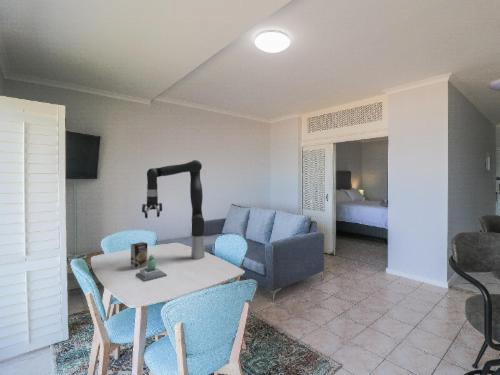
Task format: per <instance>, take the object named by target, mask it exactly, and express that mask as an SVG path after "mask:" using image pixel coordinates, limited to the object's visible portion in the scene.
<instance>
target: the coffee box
mask: <svg viewBox="0 0 500 375" xmlns="http://www.w3.org/2000/svg"><path fill="white" fill-rule="evenodd" d="M147 260H148V243H147V242H142V241H141V242H136V243H132V244H130V268H131V269H134V270H138V269H141V268H146V267H147Z"/></svg>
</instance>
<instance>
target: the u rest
mask: <svg viewBox="0 0 500 375" xmlns="http://www.w3.org/2000/svg"><path fill="white" fill-rule="evenodd" d="M167 275H168V274H167V273H166V272H164V271H162V270H161V269H159V268H156V271H151V272H147V266H146V267H142V268H139V272H136V273H135V276H136V277H138V278H139V279H141V280H142V281H143V282H149V281H152V280H156V279H160V278H164V277H167Z"/></svg>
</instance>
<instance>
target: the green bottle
mask: <svg viewBox="0 0 500 375" xmlns="http://www.w3.org/2000/svg"><path fill="white" fill-rule="evenodd" d="M148 257H149V258H147V266H146V267H147V272H151V271H156V269H157V268H156V261H157V260H156V259H157V258H154V255H153V254H151V255H148Z"/></svg>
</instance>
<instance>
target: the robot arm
mask: <svg viewBox="0 0 500 375" xmlns="http://www.w3.org/2000/svg"><path fill="white" fill-rule="evenodd" d="M202 167H203V165H202V162H200V161H199V160H197V159H195V160H192V161H188V162H187V163H186V162H185V163H182V164H181V163H180V164H174V165H173V164H172V165H165V166H161V167H154V168H152V167H151V168H149V169H147V171H146V178H147V179H146V180H147V184H146V203H143V204H142V205H141V212H142V213H144V218H145V219H148V212H149V211H150V210H155V211H156V217H157V218H159V217H160V213H161V212H163V203H162V202H158V198H159V193H158V178H161V177H167V176H172V175H173V176H174V175H177V174H182V173H188V172H189V176H190V182H189V183H190V184H189V185H190V186H189V193H190V197H189V198H190V204H191V210H192V211H191V255H190V256H191V259H193V260H200V259H204V258H205V253H206V252H205V251H206V249H205V246H206V245H205V244H204V242H205V240H204V238H205V236H204V235H205V234H204V233H205V219H204V217H203V211H202V210H203V207H202V205H203V199H204V198H203V187H202V181H201V170H202ZM158 207H159V208H158Z"/></svg>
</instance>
